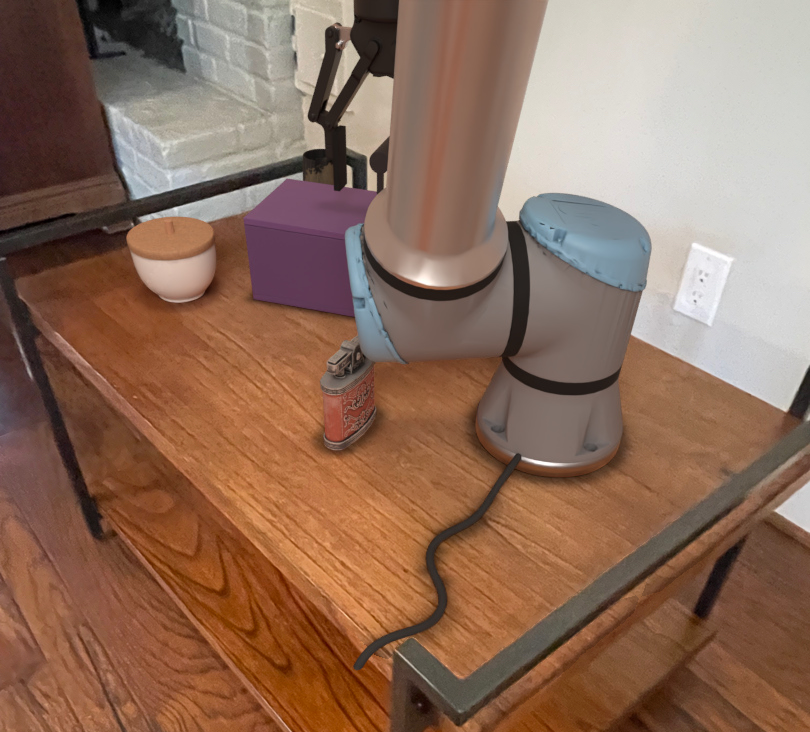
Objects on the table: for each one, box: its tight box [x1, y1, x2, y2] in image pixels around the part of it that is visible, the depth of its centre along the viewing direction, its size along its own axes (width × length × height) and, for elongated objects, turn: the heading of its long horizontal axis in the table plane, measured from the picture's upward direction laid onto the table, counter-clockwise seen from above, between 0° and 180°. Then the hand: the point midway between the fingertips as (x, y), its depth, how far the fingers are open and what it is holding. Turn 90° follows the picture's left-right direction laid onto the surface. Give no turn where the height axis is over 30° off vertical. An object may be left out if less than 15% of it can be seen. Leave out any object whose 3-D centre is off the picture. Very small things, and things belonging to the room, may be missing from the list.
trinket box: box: [126, 216, 218, 304], centre depth 96 cm, size 11×11×9 cm
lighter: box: [319, 334, 377, 451], centre depth 76 cm, size 8×3×10 cm, turn 152°
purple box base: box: [243, 224, 355, 318], centre depth 98 cm, size 17×14×10 cm
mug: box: [302, 148, 346, 187], centre depth 109 cm, size 8×6×12 cm
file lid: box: [242, 135, 390, 240], centre depth 91 cm, size 17×14×9 cm
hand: (387, 194), depth 91 cm, fingers open, 11 cm apart
